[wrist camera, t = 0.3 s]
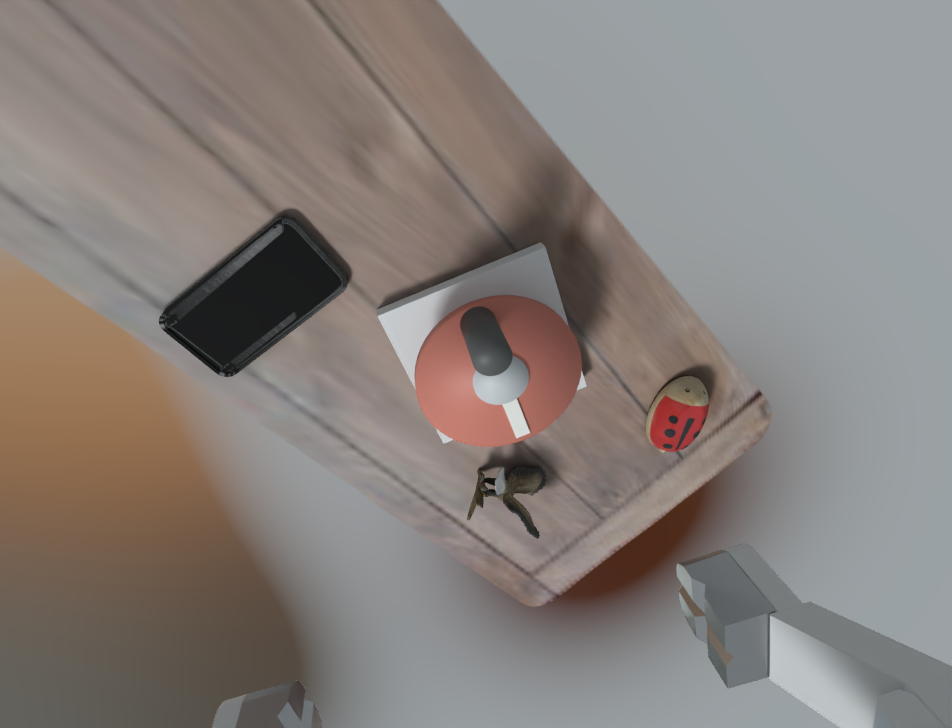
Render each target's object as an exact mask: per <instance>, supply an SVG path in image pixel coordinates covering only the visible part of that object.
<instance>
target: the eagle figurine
mask: <svg viewBox="0 0 952 728" xmlns="http://www.w3.org/2000/svg"><path fill="white" fill-rule="evenodd" d="M477 472H478V482H477V486H476V491H475V494H474V497H473V500H472V503H471V506H470V509H469V512H468V518H467V520H470V518H471V516H472V514H473V512H474V509H475V507H476V504H477V505H478V506H480V507H481V508H483V497H488V496H494V497H497V498H498V499H499V500H502V501H503V503H504V504H505V505H506V507H507V508H508V509H509V510H510V511H511V512H512V513H516V514H518V516H519V517H520V518H521V521H523V523H524V525H525V526H526V528H527V531H528V532H529V533H530V534H531V535H533V536H534V537H535V538H537V539H538V538H539V537H540V535H539V532H538V531H537V529H536V527H535V526H534V524H533V521H532V518H531V516H530V513H529V512H528V511H527V510H526V508H525V507H524V506H523V505H522V504H521V503H520V502H518V501H517V500H516V499H515V498H514V497H513V494H514V493H523V494H528V495H531V496H532V495H534V493H537V492H538V491H539V490H541V489H543V486H545V481H546V478H544V477H545V476H546V475H545V474H544V473H545V471H543V470H542V469H539V468H537V469H535V468H533V469H529V468H527V469H526V468H525V467H518V468H514V470H512V473H511V474H510V475H509V477H507V478H506V479H505V476H504V468H501V469H500V470H499V471H498V475H497V478H484V474H483V473H482V471H480V469H478V471H477ZM486 482H487V483H488V484H491V485H494V486H495V490H493V489H489V490H487V489H488V488H487V487H486V486H485V483H486Z"/></svg>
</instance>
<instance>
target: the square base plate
mask: <svg viewBox="0 0 952 728" xmlns="http://www.w3.org/2000/svg"><path fill="white" fill-rule="evenodd" d="M497 295H516V296H522V297H527V298H530V299H533V300H536V301H538V302H541V303H543V304H545V305H547V306H548V307H550V308H551V309H553V310H554V311H555V312H556V313H557V314H558V315H560V316H561V317H562V319H563V320H564V321H565V322H566V324H567V325H568V322H567V318H566V315H565V312H564V308H563V305H562V301H561V298H560V295H559V291H558V288H557V284H556V281H555V278H554V274H553V271H552V267H551V264H550V261H549V257H548V254H547V250H546V247H545V246H544V245H543V244H542V243H541V242H540V243H537V244H535V245H532V246H530V247H528V248H525V249H523V250H520V251H518V252H515V253H513V254H511V255H508V256H506V257H503V258H501V259H498V260H496V261H494V262H491V263H489V264H486V265H484V266H481V267H479V268H476V269H474V270H472V271H469V272H467V273H464V274H462V275H459V276H457V277H455V278H452V279H450V280H447V281H445V282H442V283H440V284H438V285H435V286H433V287H430V288H428V289H425V290H423V291H420V292H418V293H416V294H413V295H411V296H408V297H406V298H403V299H401V300H399V301H396V302H394V303H391V304H389V305H386V306H384V307H382V308H379V309H377V316H378V318H379V320H380V322H381V324H382V326H383V328H384V330H385V332H386V334H387V335H388V337H389V339H390V341H391V343H392V345H393V347H394V349H395V351H396V353H397V355H398V357H399V359H400V361H401V362H402V364H403V366H404V368H405V370H406V372H407V374H408V376H409V378H410V380H411V382H412V384H413V386H414V388H415V378H414V375H415V365H416V360H417V356H418V353H419V351H420V348H421V346H422V344H423V342H424V340H425V339H426V337H427V336H428V334H429V333H430V332H431V330H432V329H433V328H434V327H435V326H436V325H437V324H438V323H439V321H441V320H442V319H443V318H444V317H445V316H447V315H448V314H449V313H451V312H452V311H454V310H455V309H457V308H458V307H460V306H463V305H465V304H467V303H469V302H471V301H474V300H477V299H480V298H485V297H489V296H497ZM568 326H569V325H568ZM584 387H586V383H585V380H584V376H583V373H582V371H581V378H580V382H579V385H578V388H577V390H579V389H581V388H584ZM415 389H416V388H415ZM436 430H437V432H438V434H439V436H440V438H441V440H442V442H443V443H447V442H449V441H452V440H454V439H452V438H449V437H447V436H446V435H444V434H443V433H441V432H440V431H439V430H438V429H436Z"/></svg>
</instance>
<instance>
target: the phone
mask: <svg viewBox="0 0 952 728" xmlns="http://www.w3.org/2000/svg"><path fill="white" fill-rule="evenodd" d="M339 267H340V266H339V265H338V264H337V263H336V262H335V261H334V260H333V259H332V258H331V257H330V255H329V254H328V253H327V252H326V251H325V250H324V249H323V248H322V247H321V246H320V245H319V243H318V242H317V241H316V240H315V239H314V238H313V237H312V236H311V235H310V234H309V233H308V231H307V230H306V229H305V228H304V227H303V226H302V225H301V224H300V223H299V222H298V221H297V220H296V219H295V218H292V217H290V216H282V217H280V218H278V219H276V220H275V221H274V222H273V223H271V224H270V225H269V226H268V227H267V228H265V229H264V230H263V231H262V232H260V233H259V234H258V235H257V236H256V237H254V238H253V239H252V240H251V241H249V242H248V243H247V244H246V245H244V246H243V247H242V248H241V249H240V250H238V251H237V252H236V253H235V254H233V255H232V256H231V257H230V258H229V259H227V260H226V261H225V262H224V263H222V264H221V265H220V266H219V267H218V268H216V269H215V270H214V271H213V272H211V273H210V274H209V275H208V276H206V277H205V278H204V279H203V280H202V281H200V282H199V283H198V284H197V285H195V286H194V287H193V288H192V289H191V290H189V291H188V292H187V293H186V294H184V295H183V296H182V297H181V298H180V299H178V300H177V301H176V302H175V303H173V304H172V305H171V306H170V307H168V308H167V309H166V310H165V311H164V312H163V314H162V315H161V316H160V318H159V325H160V326H161V328H162V329H163V330H164V331H165V332H166V333H167V334H168V335H170V336H171V337H172V338H173V339H175V340H176V341H177V342H178V343H179V344H181V345H182V346H183V347H184V348H186V349H187V350H188V351H189V352H191V353H192V354H193V355H194V356H196V357H197V358H198V359H199V360H201V361H202V362H203V363H204V364H205V365H207V366H208V367H209V368H210V369H212V370H213V371H214V372H215V373H217V374H218V375H220V376H224V377H230V376H233V375H235V374H237V373H238V372H239V371H241V370H242V369H243V368H245V367H246V366H247V365H249V364H250V363H251V362H252V361H254V360H255V359H256V358H258V357H259V356H260V355H262V354H263V353H264V352H266V351H267V350H268V349H270V348H271V347H272V346H273V345H275V344H276V343H277V342H279V341H280V340H281V339H282V338H284V337H285V336H286V335H288V334H289V333H290V332H292V331H293V330H294V329H296V328H297V327H298V326H299V325H301V324H302V323H303V322H305V321H306V320H307V319H309V318H310V317H311V316H313V315H314V314H315V313H316V312H318V311H319V310H320V309H322V308H323V307H324V306H326V305H327V304H328V303H330V302H331V301H332V300H333V299H335V298H336V297H337V296H339V295H340V294H341V293H343V292H344V291H345V289H346V287H347V280H348V279H347V275H346V273H345V272H344V271H343V270H342V269H341V267H340V268H339Z"/></svg>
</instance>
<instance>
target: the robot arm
mask: <svg viewBox="0 0 952 728" xmlns="http://www.w3.org/2000/svg"><path fill="white" fill-rule="evenodd" d="M676 569H677V577H678V578H679V580H680V582H681V583H682V585H683V586H682V587H681V588H680V590H679V597H680V603H681V606H682V609H683V612H684V615H685V618H686V619H687V622H688V624H689V626H690V627H691V629H692V631H693V633H694V634H695V636H696V638H698V639H700V640H701V641H703V642H705V643H707V645H708V656H709V659H710V660H711V662H712V664H713V665H714V667H715V669H716V670H717V672H718V673H719V675H720V677H721V678H722V680H723V681H724V683H725V685H726V686H727V688H731V687H735V686H738V685H742V684H745V683H749V682H753V681H756V680H759V679H763V678H767V677H770V680H771V681H773V682H774V683H776V684H777V685H779V686H780V687H782V688H783V689H785V690H786V691H788V692H789V693H790V694H792V695H793V696H795V697H796V698H798V699H799V700H801V701H802V702H803V703H805V704H806V705H808V706H809V707H811V708H812V709H814V710H815V711H817V712H818V713H819V714H821V715H822V716H824V717H825V718H827V719H828V720H830V721H831V722H833V723H834V724H835V725H837V726H839V727H840V728H952V666H950V665H947V664H945V663H943V662H941V661H939V660H936V659H934V658H932V657H930V656H928V655H926V654H924V653H921V652H919V651H917V650H914V649H913V648H910V647H908V646H906V645H904V644H902V643H899V642H897V641H895V640H893V639H891V638H889V637H886V636H884V635H881V634H880V633H878V632H875V631H873V630H871V629H869V628H866V627H864V626H862V625H860V624H858V623H856V622H853V621H851V620H849V619H847V618H845V617H843V616H840V615H838V614H836V613H833V612H832V611H829V610H827V609H825V608H823V607H821V606H818V605H816V604H814V603H812V602H807V603H804V604H803V603H802V602H801V601H800V600H799V599H798V598H797V596H796V595H795V594H794V593H793V592H792V591H791V590H790V588H789V587H788V586H787V585H786V584H785V583H784V582H783V581H782V579H780V577H779V576H778V575H777V574H776V573H775V572H774V570H773V569H772V568H771V567H770V566H769V565H768V564H767V563H766V561H764V559H763V558H762V557H761V556H760V555H759V554H758V553H757V552H756V550H755V549H754V548H753V547H752V546H751V545H749V544H748V543H742V544H739V545H736V546H733V547H729V548H726V549H723V550H718V551H715V552H711V553H708V554H705V555H702V556H699V557H696V558H693V559H690V560H687V561H683V562H680V563H678V564H677V568H676ZM305 691H306V689H305V688H304V686H303V685H302V683H301V682H300V681H299V680H298V681H294V682H290V683H287V684H283V685H279V686H276V687H272V688H268V689H264V690H261V691H257V692H254V693H250V694H247V695H243V696H240V697H237V698H233V699H229V700H226V701H223V703H222V704H221V706H220V707H219V709H218V710H217V712H216V716H215V720H214V722H213V726H212V728H322V721H321V718H320V715H319V711H318V709H317V708H316V706H315V704H314V703H312V702H309V701H307V700H304V699H305Z"/></svg>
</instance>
